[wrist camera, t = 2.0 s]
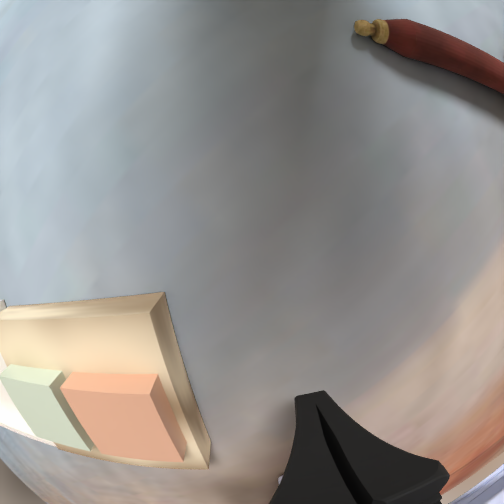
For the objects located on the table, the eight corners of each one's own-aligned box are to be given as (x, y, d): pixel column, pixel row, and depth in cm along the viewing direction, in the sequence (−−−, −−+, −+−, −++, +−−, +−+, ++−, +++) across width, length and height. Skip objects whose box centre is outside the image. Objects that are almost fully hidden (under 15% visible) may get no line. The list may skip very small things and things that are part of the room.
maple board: (211, 441, 15) (208, 469, 13) (70, 429, 15) (58, 448, 12) (164, 291, 13) (149, 312, 10) (9, 305, 13) (-13, 319, 10)
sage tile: (98, 435, 12) (90, 451, 10) (44, 423, 12) (35, 436, 10) (62, 370, 11) (48, 386, 9) (10, 364, 11) (-2, 375, 9)
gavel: (390, 91, 9) (345, -49, 7) (354, 118, 13) (330, -9, 11) (575, 163, 8) (549, 56, 6) (541, 162, 12) (521, 66, 10)
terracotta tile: (186, 442, 12) (183, 462, 10) (109, 436, 12) (101, 453, 10) (157, 373, 11) (149, 394, 9) (72, 371, 11) (59, 387, 9)
